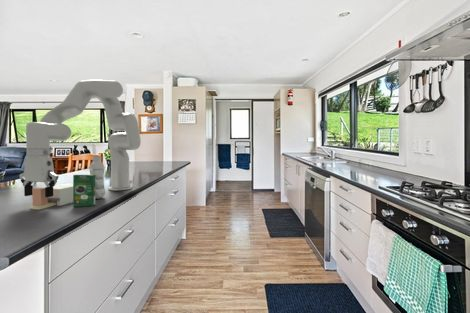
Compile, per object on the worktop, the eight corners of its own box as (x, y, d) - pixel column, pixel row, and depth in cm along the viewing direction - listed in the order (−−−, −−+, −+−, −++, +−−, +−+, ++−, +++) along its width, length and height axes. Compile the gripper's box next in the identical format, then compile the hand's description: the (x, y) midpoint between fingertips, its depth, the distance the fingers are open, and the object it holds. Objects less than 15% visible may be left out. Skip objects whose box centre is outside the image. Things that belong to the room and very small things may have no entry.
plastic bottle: (86, 199, 126) (85, 156, 125) (97, 196, 132) (96, 155, 131) (97, 200, 124) (96, 156, 123) (108, 197, 130) (107, 155, 129)
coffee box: (96, 204, 116) (95, 174, 115) (94, 206, 113) (93, 174, 112) (75, 205, 114) (74, 174, 114) (73, 207, 111) (72, 175, 111)
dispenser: (66, 198, 129) (65, 183, 129) (84, 198, 127) (84, 184, 127) (38, 205, 115) (37, 188, 114) (58, 206, 113) (58, 189, 112)
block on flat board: (67, 199, 127) (67, 182, 126) (76, 199, 126) (75, 182, 125) (30, 208, 108) (29, 188, 108) (39, 209, 107) (38, 189, 107)
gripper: (64, 153, 111) (65, 195, 111) (28, 152, 114) (29, 193, 115) (48, 153, 104) (49, 198, 104) (11, 153, 107) (11, 196, 107)
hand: (39, 196), depth 109 cm, fingers open, 9 cm apart
